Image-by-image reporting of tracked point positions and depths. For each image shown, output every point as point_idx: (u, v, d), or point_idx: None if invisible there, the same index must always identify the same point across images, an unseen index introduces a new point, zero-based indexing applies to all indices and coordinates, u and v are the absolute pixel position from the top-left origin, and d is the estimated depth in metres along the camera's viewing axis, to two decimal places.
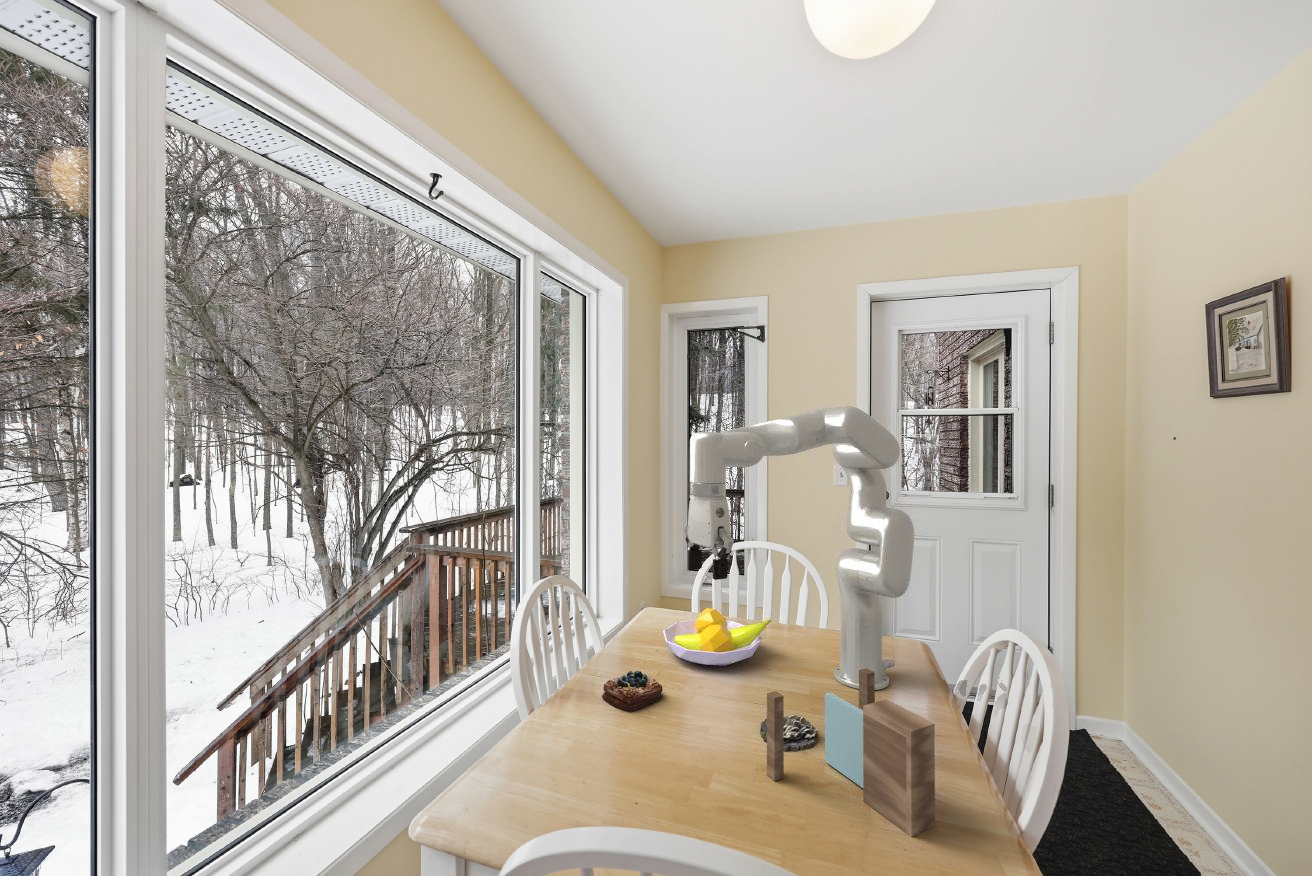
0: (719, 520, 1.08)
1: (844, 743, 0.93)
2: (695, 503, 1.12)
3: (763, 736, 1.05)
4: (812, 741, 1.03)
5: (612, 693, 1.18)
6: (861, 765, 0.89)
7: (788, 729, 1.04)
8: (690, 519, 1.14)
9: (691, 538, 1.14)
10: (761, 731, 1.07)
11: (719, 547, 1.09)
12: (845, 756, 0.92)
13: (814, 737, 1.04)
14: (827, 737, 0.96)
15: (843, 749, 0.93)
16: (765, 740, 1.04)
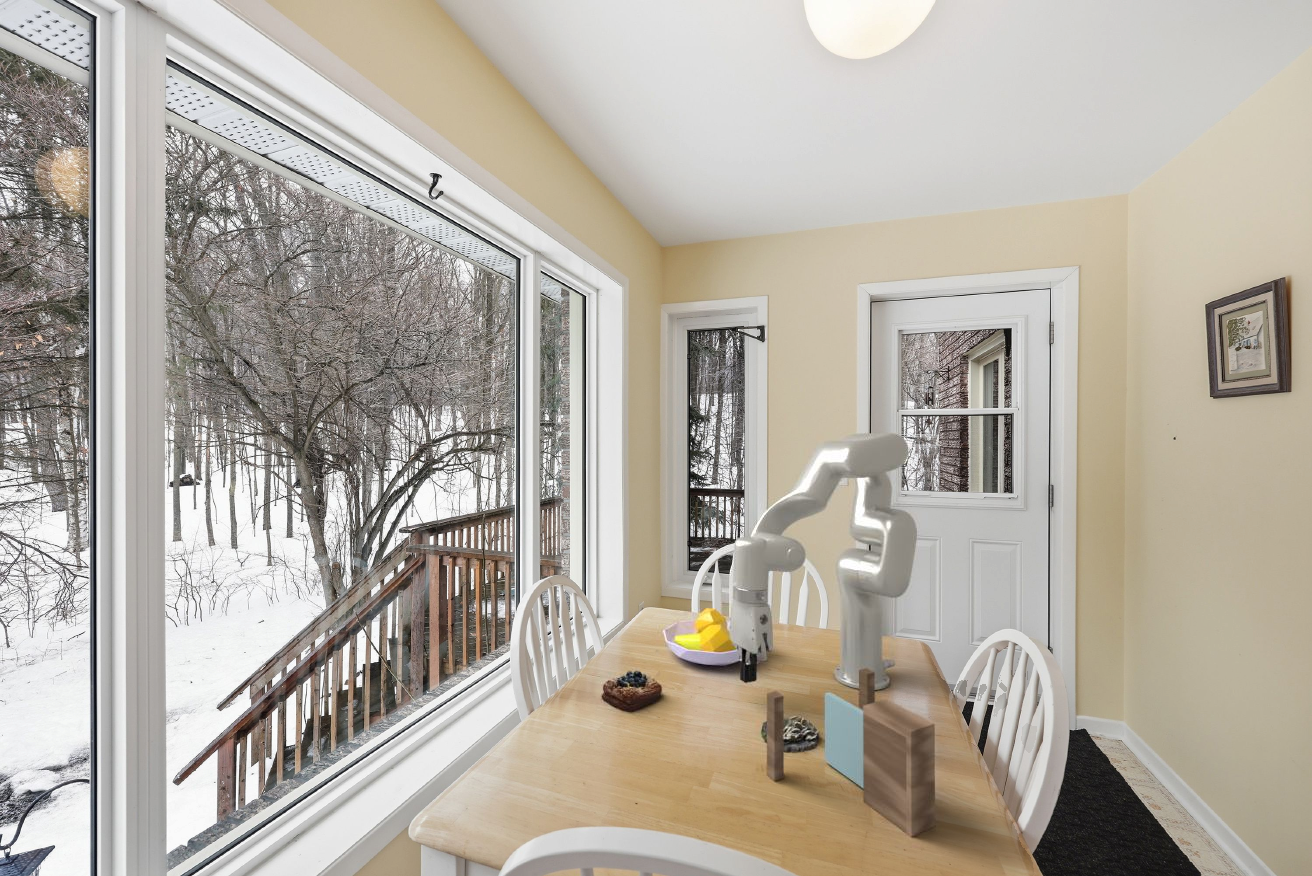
0: (763, 627, 1.13)
1: (844, 743, 0.93)
2: (738, 607, 1.17)
3: (764, 737, 1.05)
4: (813, 743, 1.02)
5: (612, 693, 1.18)
6: (861, 765, 0.89)
7: (789, 730, 1.04)
8: (732, 620, 1.19)
9: (733, 639, 1.19)
10: (762, 732, 1.07)
11: None
12: (845, 756, 0.92)
13: (815, 739, 1.04)
14: (827, 737, 0.96)
15: (843, 749, 0.93)
16: (765, 741, 1.04)
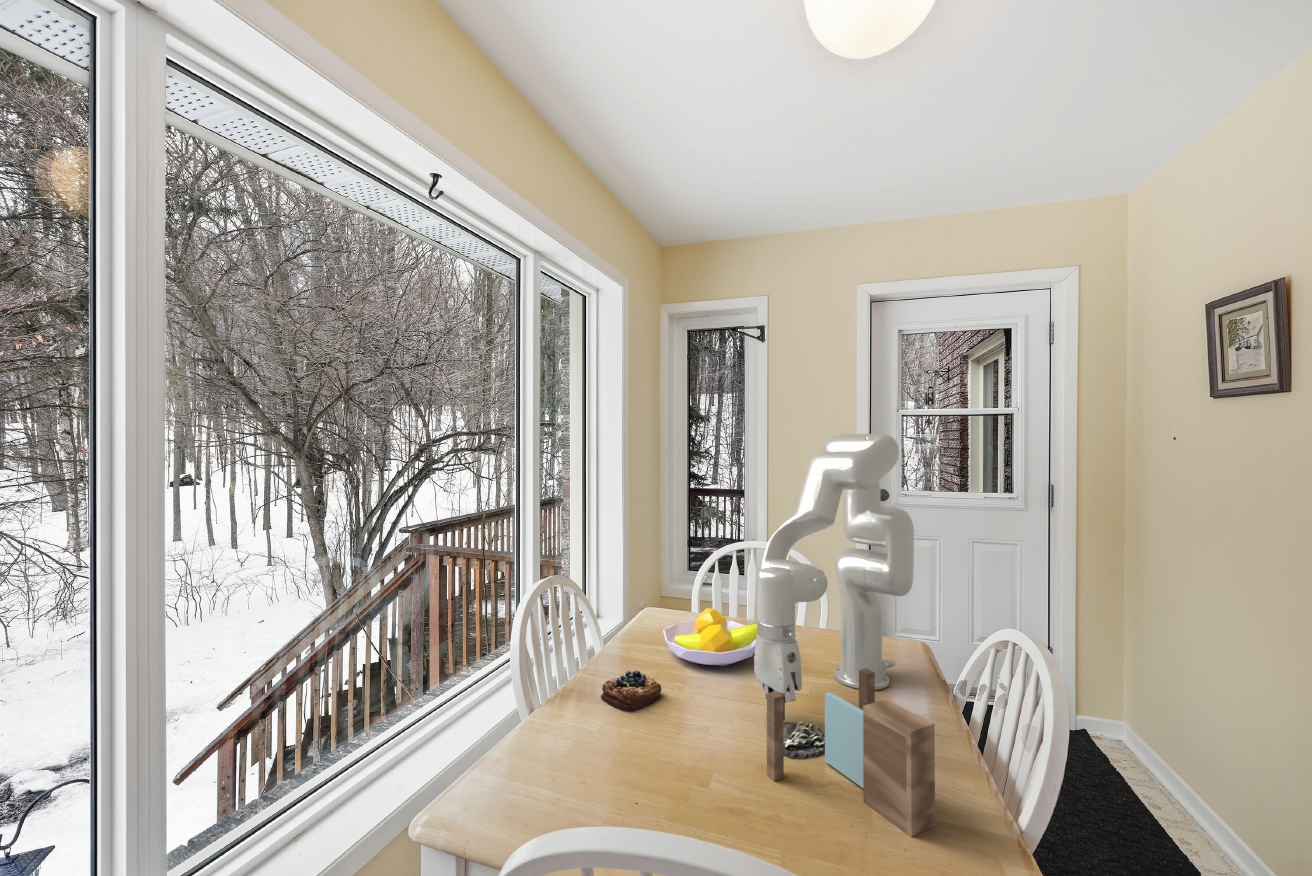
0: (791, 666, 1.05)
1: (844, 743, 0.93)
2: (763, 643, 1.09)
3: None
4: (821, 749, 1.00)
5: (611, 693, 1.18)
6: (861, 765, 0.89)
7: (796, 736, 1.02)
8: (757, 656, 1.12)
9: (758, 676, 1.11)
10: None
11: None
12: (845, 756, 0.92)
13: (823, 745, 1.01)
14: (827, 737, 0.96)
15: (843, 749, 0.93)
16: None
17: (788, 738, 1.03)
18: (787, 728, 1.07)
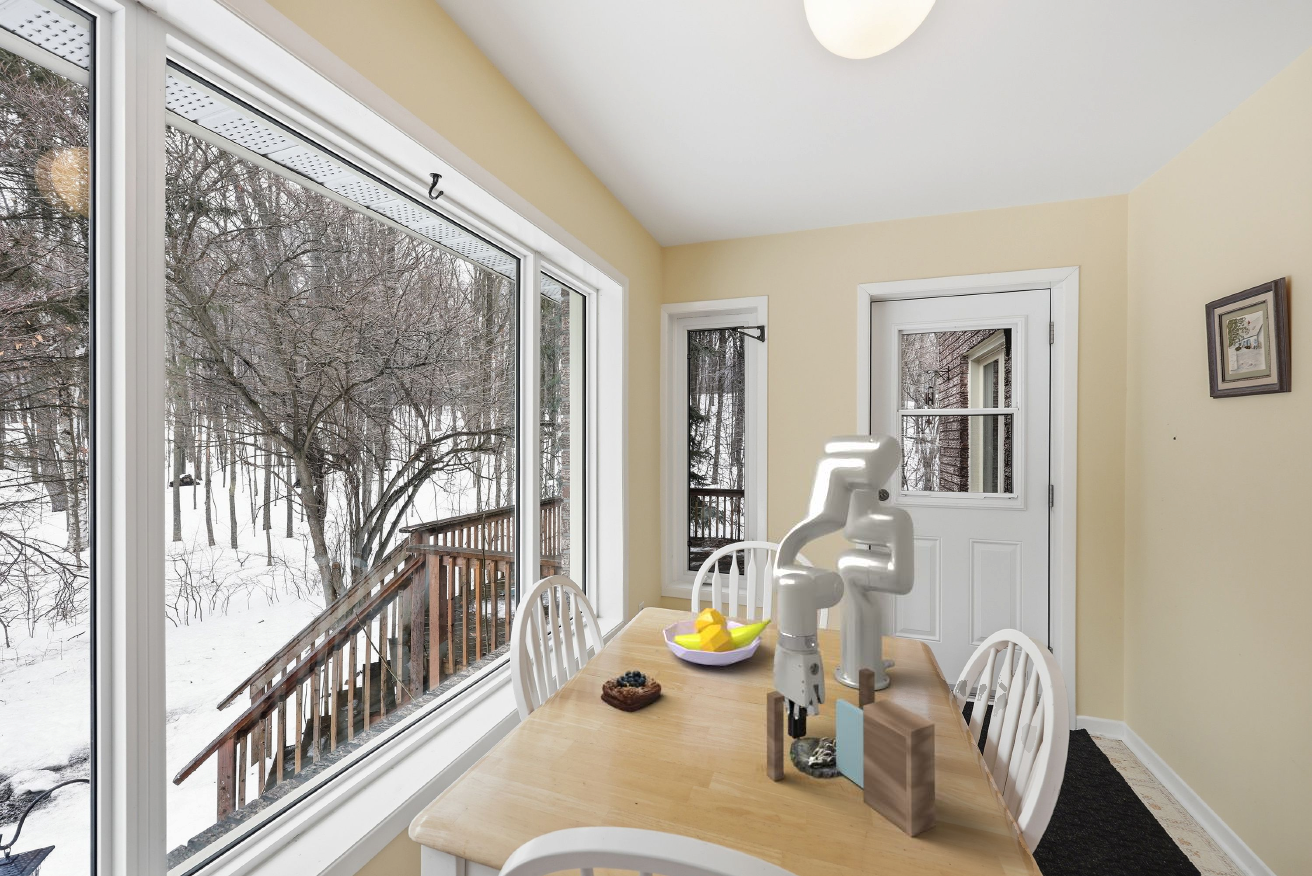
0: (814, 678, 1.00)
1: (856, 751, 0.90)
2: (784, 653, 1.04)
3: (793, 759, 0.97)
4: None
5: (612, 693, 1.18)
6: None
7: (820, 753, 0.96)
8: (777, 667, 1.06)
9: (778, 688, 1.06)
10: (791, 753, 0.99)
11: None
12: (858, 765, 0.90)
13: None
14: (839, 745, 0.94)
15: (855, 757, 0.91)
16: (795, 764, 0.96)
17: (811, 755, 0.98)
18: (809, 744, 1.01)
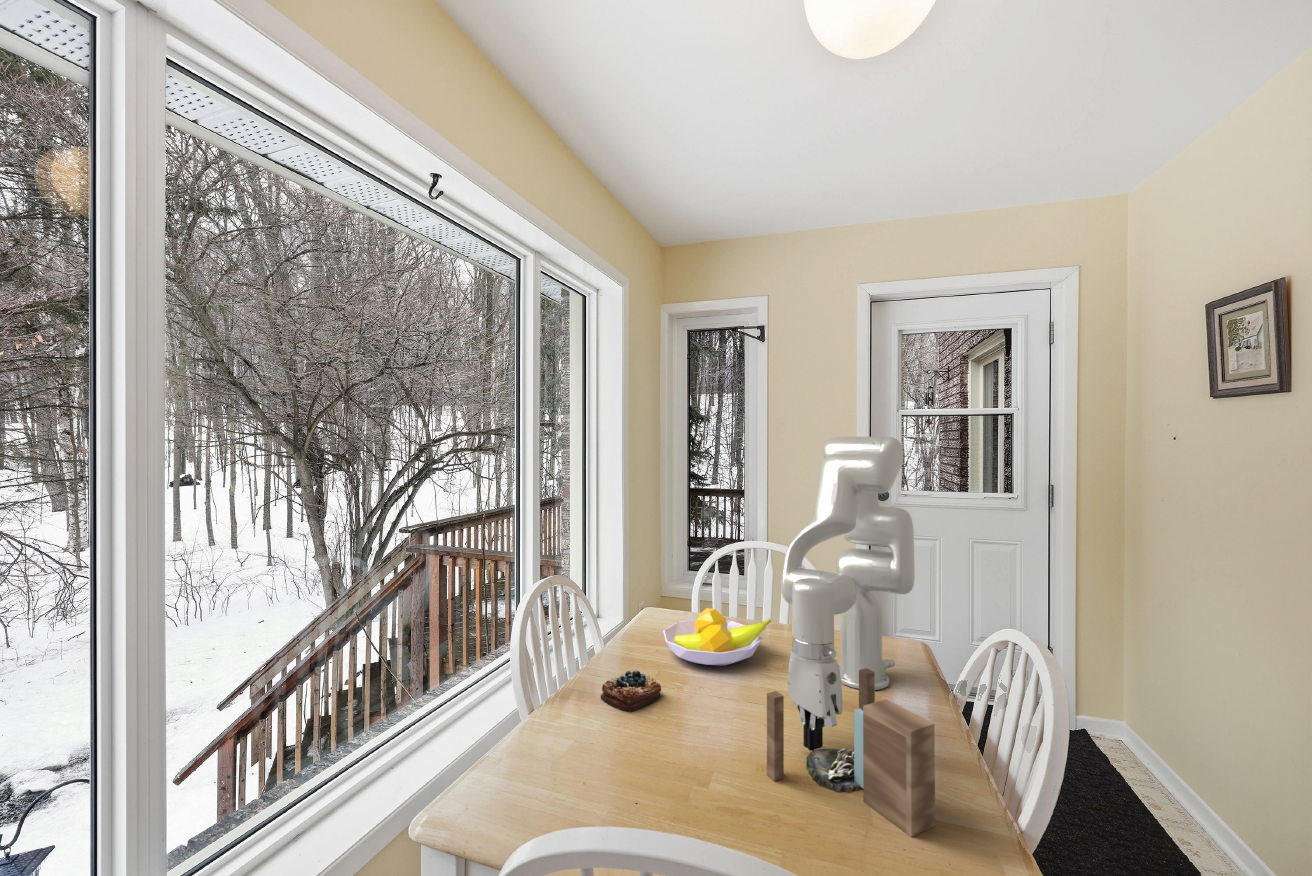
0: (831, 687, 0.96)
1: None
2: (799, 661, 1.00)
3: (811, 773, 0.93)
4: None
5: (611, 693, 1.18)
6: None
7: (839, 766, 0.93)
8: (792, 676, 1.02)
9: (793, 697, 1.02)
10: (808, 767, 0.95)
11: None
12: None
13: None
14: (857, 757, 0.90)
15: None
16: (814, 778, 0.92)
17: (829, 768, 0.94)
18: (825, 756, 0.97)
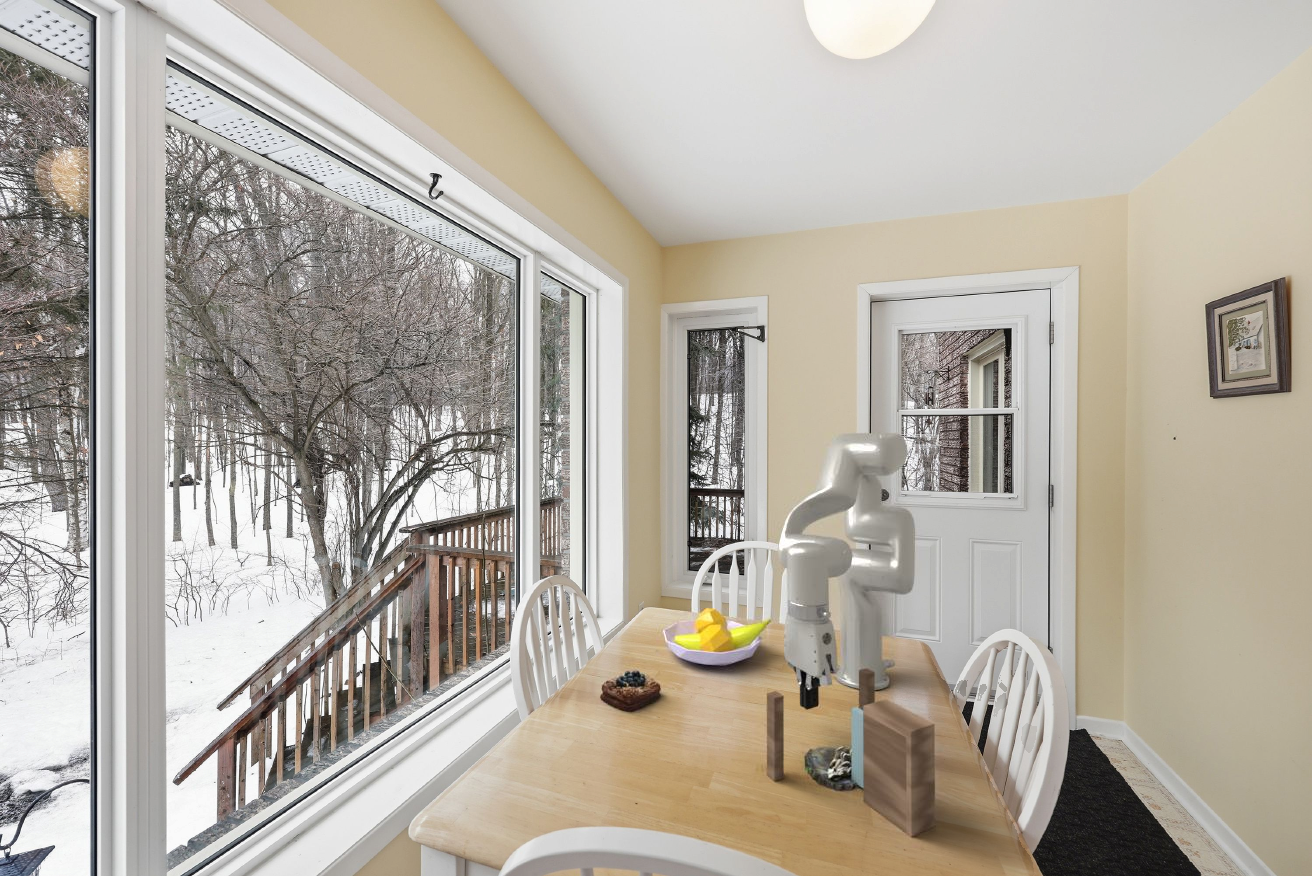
0: (826, 647, 0.98)
1: None
2: (795, 624, 1.02)
3: (810, 773, 0.93)
4: None
5: (611, 693, 1.18)
6: None
7: (838, 764, 0.93)
8: (788, 638, 1.04)
9: (789, 659, 1.04)
10: (806, 766, 0.95)
11: None
12: None
13: None
14: (854, 755, 0.91)
15: None
16: (814, 778, 0.92)
17: (828, 766, 0.94)
18: (822, 754, 0.97)
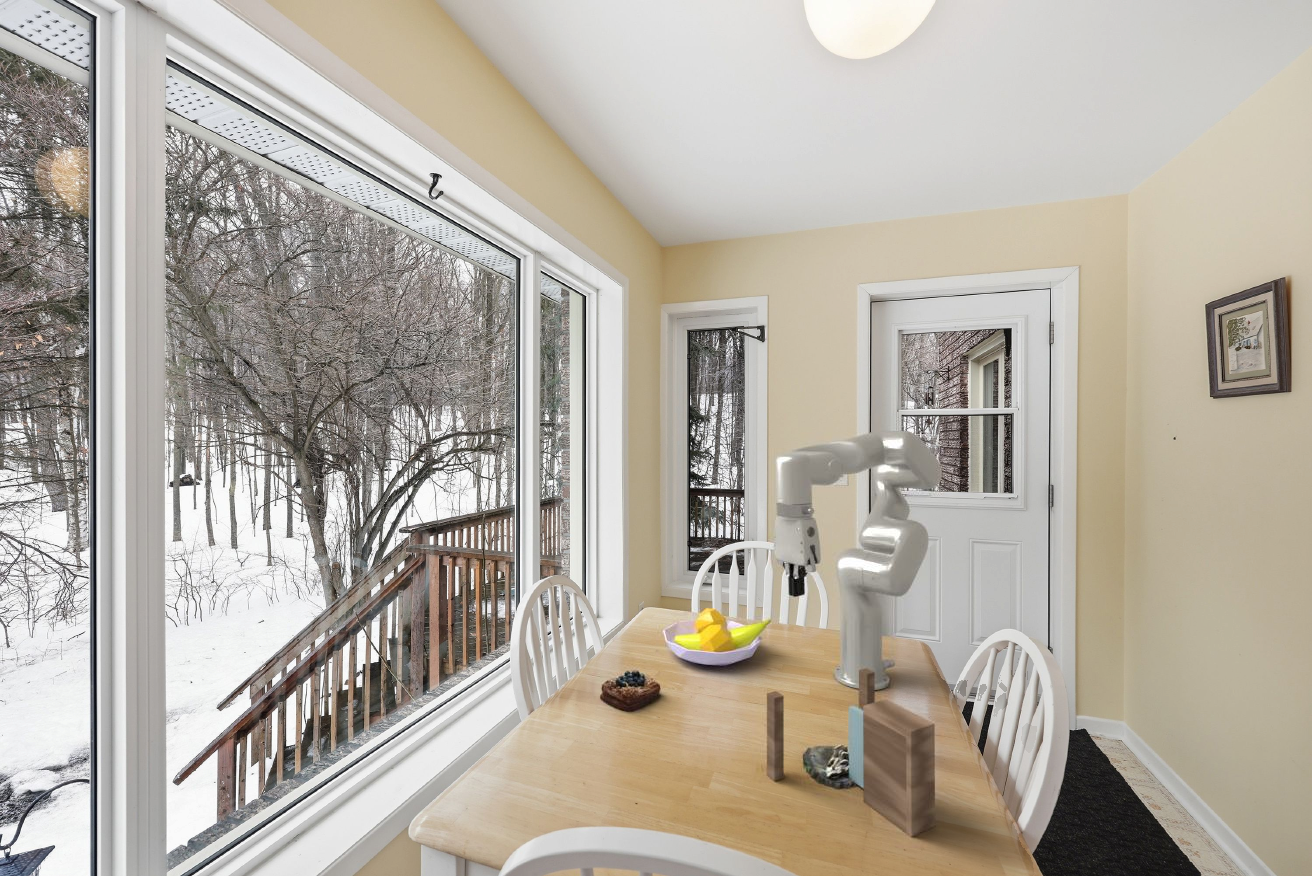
0: (810, 539, 1.13)
1: None
2: (783, 523, 1.17)
3: (809, 771, 0.94)
4: None
5: (611, 693, 1.18)
6: None
7: (836, 762, 0.94)
8: (777, 538, 1.19)
9: (779, 556, 1.19)
10: (805, 765, 0.95)
11: None
12: None
13: None
14: (852, 754, 0.91)
15: None
16: (812, 776, 0.93)
17: (826, 765, 0.95)
18: (821, 753, 0.98)
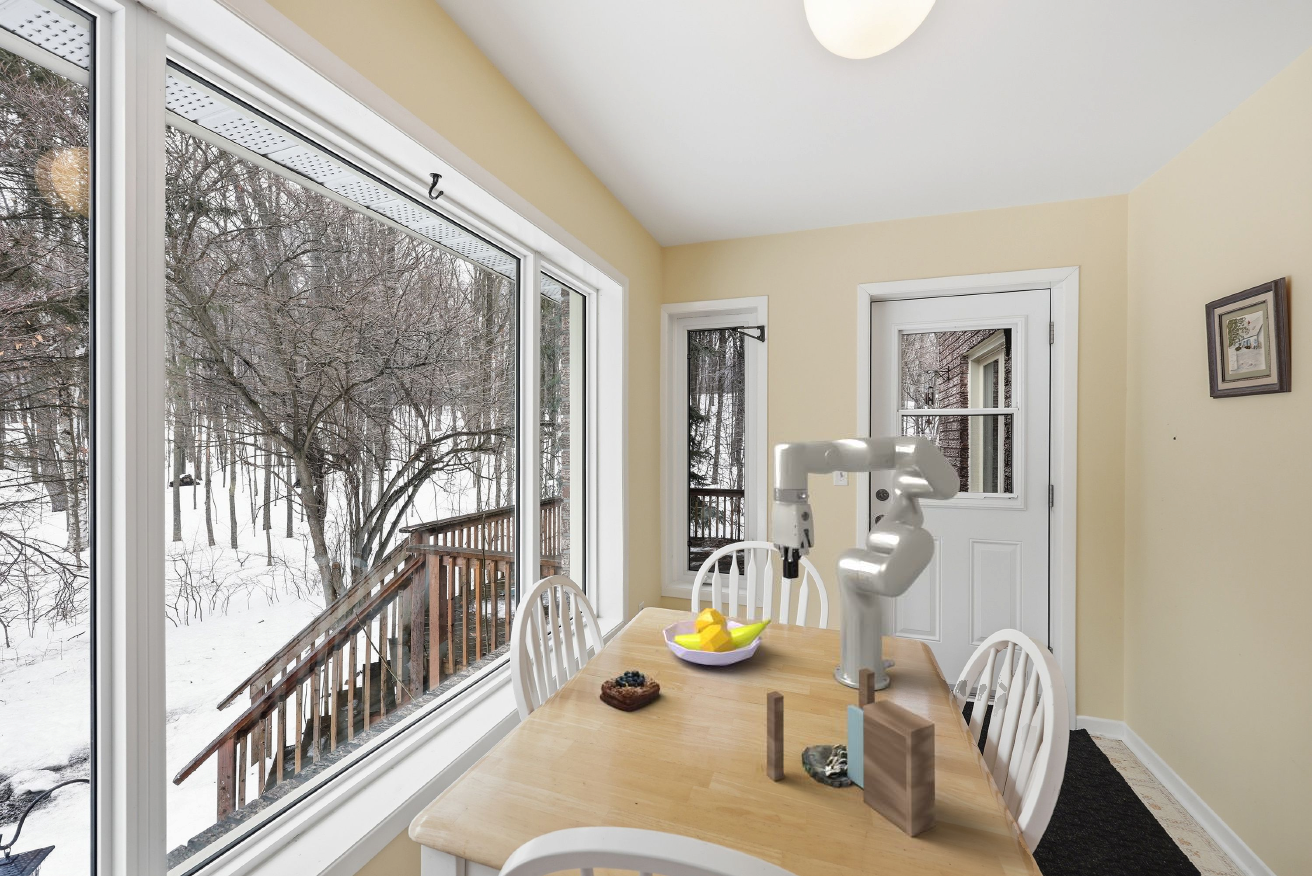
0: (804, 523, 1.18)
1: None
2: (779, 507, 1.22)
3: (808, 770, 0.94)
4: None
5: (611, 693, 1.18)
6: None
7: (835, 761, 0.94)
8: (774, 522, 1.24)
9: (775, 539, 1.24)
10: (804, 764, 0.96)
11: None
12: None
13: None
14: (850, 753, 0.91)
15: None
16: (811, 775, 0.93)
17: (825, 764, 0.95)
18: (819, 752, 0.98)
